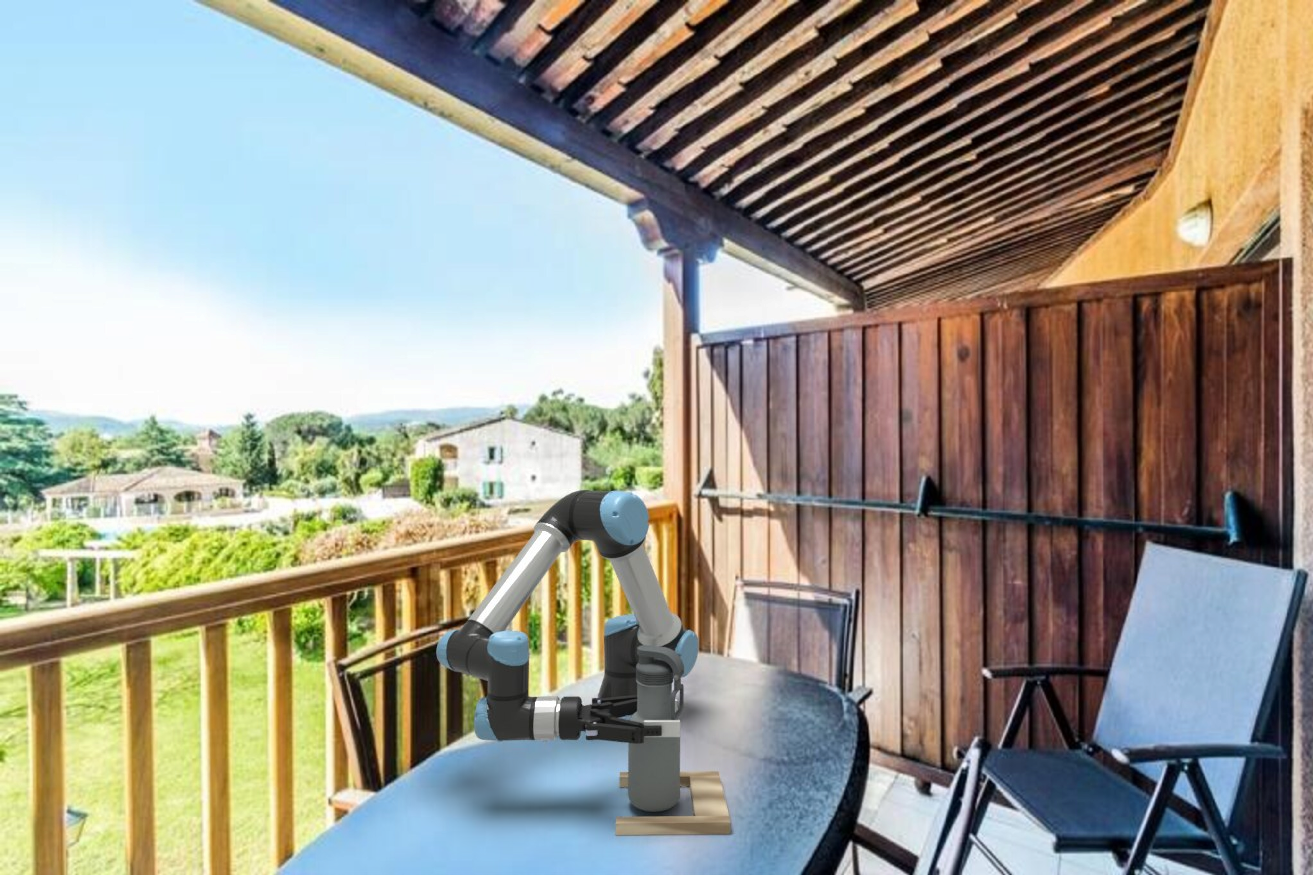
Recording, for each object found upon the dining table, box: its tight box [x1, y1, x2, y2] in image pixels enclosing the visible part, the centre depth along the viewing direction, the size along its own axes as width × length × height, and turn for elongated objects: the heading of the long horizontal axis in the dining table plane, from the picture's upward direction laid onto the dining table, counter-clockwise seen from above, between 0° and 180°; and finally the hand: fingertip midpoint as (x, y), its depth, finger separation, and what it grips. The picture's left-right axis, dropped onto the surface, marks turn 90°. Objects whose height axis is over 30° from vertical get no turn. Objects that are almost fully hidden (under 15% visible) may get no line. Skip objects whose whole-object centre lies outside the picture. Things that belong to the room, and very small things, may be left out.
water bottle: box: [627, 645, 685, 813], centre depth 118 cm, size 10×10×28 cm
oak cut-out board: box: [615, 770, 732, 836], centre depth 118 cm, size 18×20×2 cm
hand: (678, 717), depth 118 cm, fingers open, 9 cm apart
